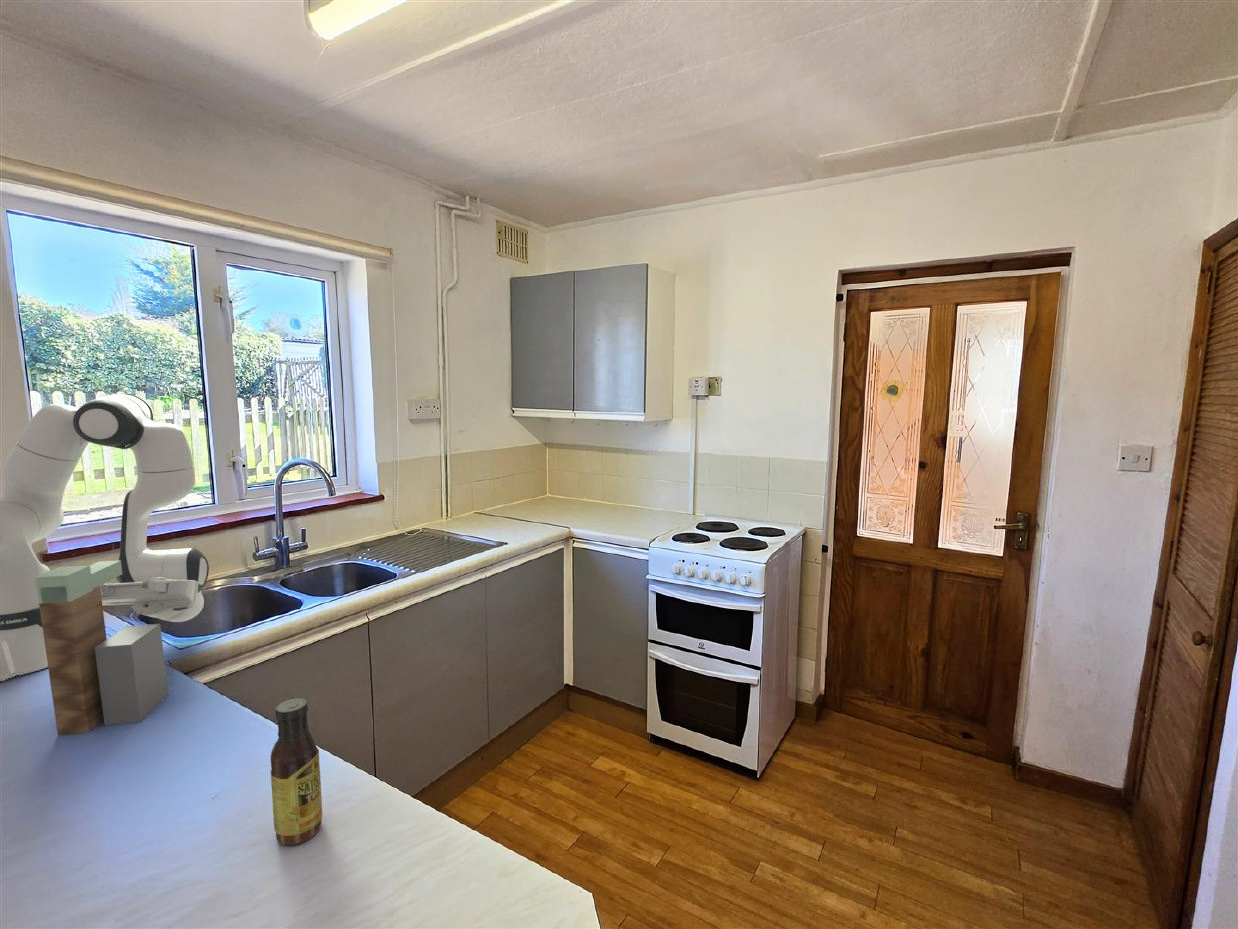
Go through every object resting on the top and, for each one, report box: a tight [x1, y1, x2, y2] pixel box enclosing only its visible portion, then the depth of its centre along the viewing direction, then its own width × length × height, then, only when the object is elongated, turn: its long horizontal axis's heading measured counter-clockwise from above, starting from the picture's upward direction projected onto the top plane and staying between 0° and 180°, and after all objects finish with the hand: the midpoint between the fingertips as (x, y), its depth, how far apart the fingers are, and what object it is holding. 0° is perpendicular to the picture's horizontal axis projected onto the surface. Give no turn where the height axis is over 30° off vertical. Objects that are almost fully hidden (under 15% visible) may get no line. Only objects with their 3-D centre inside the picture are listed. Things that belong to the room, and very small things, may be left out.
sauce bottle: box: [270, 697, 323, 846], centre depth 84 cm, size 7×6×20 cm
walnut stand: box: [39, 587, 108, 736], centre depth 112 cm, size 5×8×26 cm, turn 12°
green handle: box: [35, 560, 122, 604], centre depth 113 cm, size 5×16×5 cm, turn 12°
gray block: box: [95, 623, 169, 726], centre depth 117 cm, size 6×10×16 cm, turn 12°
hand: (121, 585), depth 125 cm, fingers open, 8 cm apart
